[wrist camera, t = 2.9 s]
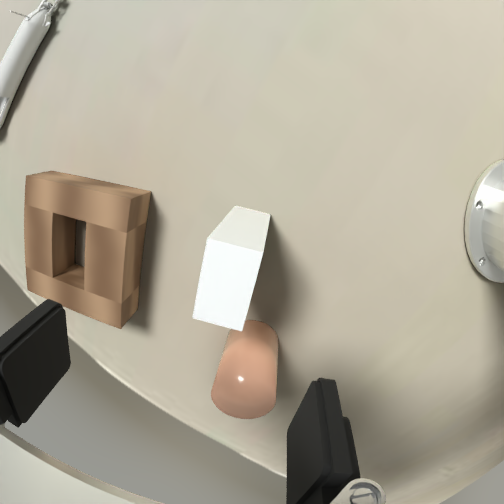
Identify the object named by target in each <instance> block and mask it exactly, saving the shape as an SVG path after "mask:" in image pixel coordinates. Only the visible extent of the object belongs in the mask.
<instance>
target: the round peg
mask: <svg viewBox="0 0 504 504" xmlns="http://www.w3.org/2000/svg"><path fill="white" fill-rule="evenodd" d="M278 344H279V341H278V336H277V334H276V332H275V331H274V330H273V329H272V328H271V327H270V326H269V325H267V324H266V323H263V322H260V321H256V320H247V321H245V323H244V326H243V330H242V331H238V330H235V329H231V330H230V332H229V334H228V337H227V340H226V344H225V347H224V350H223V354H222V357H221V360H220V364H219V367H218V370H217V374H216V377H215V380H214V384H213V387H212V391H211V397H212V400H213V402H214V404H215V405H216V407H217V408H218V409H220V410H221V411H222V412H224V413H225V414H227V415H230V416H232V417H236V418H241V419H253V418H258V417H261V416H264V415H266V414H267V413H269V412H270V411H271V410H272V409H273V407H274V405H275V402H276V386H277V366H278Z"/></svg>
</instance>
